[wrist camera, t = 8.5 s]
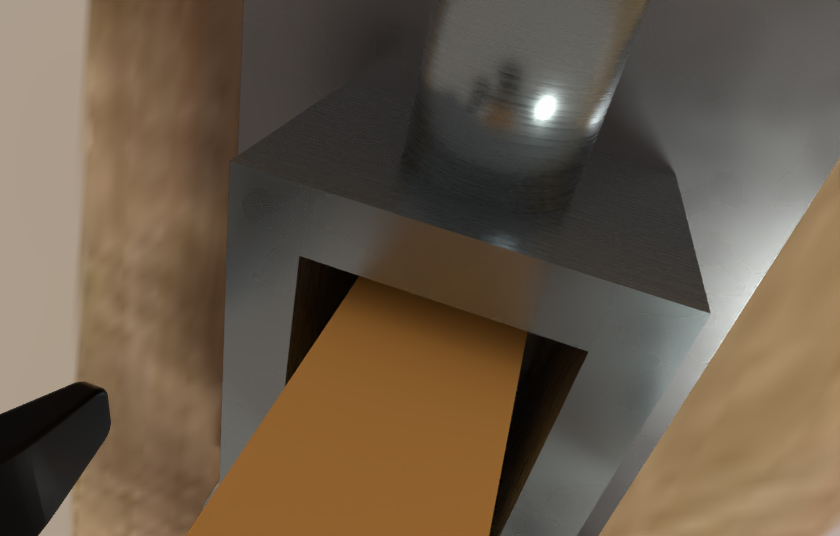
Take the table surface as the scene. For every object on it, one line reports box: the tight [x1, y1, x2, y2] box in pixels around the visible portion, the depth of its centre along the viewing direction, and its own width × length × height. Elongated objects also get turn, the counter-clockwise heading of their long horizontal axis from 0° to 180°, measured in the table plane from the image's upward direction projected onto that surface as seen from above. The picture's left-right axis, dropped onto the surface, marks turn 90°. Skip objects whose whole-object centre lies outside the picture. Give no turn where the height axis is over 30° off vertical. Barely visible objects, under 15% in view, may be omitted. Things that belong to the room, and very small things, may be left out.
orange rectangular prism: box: [186, 276, 527, 536], centre depth 10 cm, size 3×4×10 cm
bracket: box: [202, 0, 840, 536], centre depth 14 cm, size 12×20×6 cm, turn 168°
